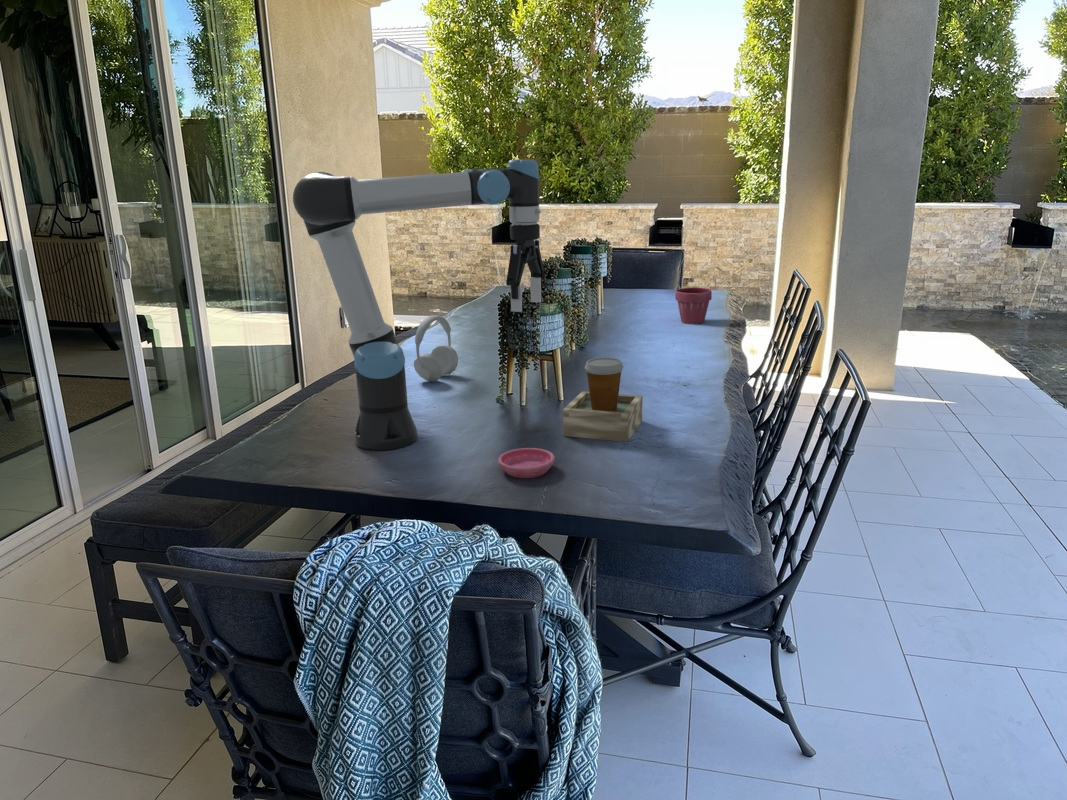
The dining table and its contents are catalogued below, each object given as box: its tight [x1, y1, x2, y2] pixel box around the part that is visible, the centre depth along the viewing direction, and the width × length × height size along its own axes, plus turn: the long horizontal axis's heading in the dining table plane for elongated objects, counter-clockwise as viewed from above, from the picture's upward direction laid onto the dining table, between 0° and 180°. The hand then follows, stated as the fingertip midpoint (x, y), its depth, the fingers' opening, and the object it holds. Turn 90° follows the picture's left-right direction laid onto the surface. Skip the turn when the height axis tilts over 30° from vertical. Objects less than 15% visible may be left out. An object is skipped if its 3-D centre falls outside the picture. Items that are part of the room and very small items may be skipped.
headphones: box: [413, 314, 459, 383], centre depth 246 cm, size 19×9×20 cm, turn 154°
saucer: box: [497, 447, 556, 479], centre depth 176 cm, size 12×12×3 cm
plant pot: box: [674, 287, 713, 325], centre depth 318 cm, size 14×14×13 cm
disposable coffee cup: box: [584, 357, 624, 411], centre depth 198 cm, size 10×10×12 cm
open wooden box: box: [562, 390, 643, 443], centre depth 200 cm, size 16×16×7 cm
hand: (526, 306), depth 208 cm, fingers open, 13 cm apart
